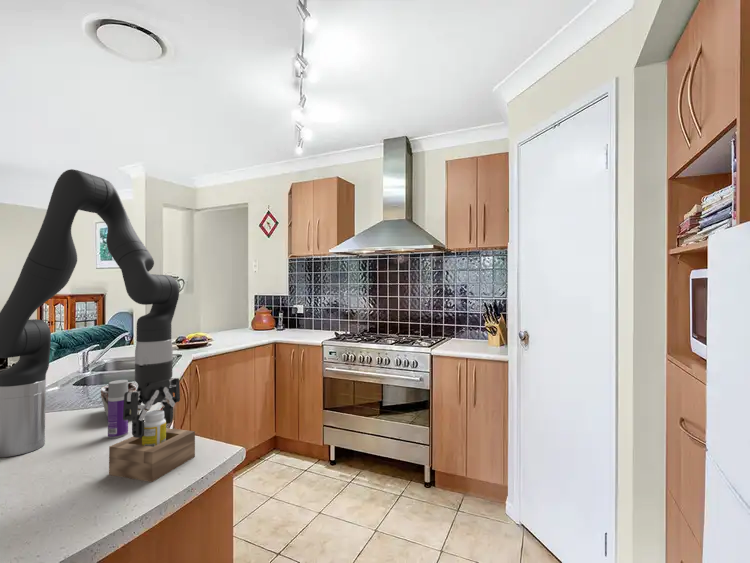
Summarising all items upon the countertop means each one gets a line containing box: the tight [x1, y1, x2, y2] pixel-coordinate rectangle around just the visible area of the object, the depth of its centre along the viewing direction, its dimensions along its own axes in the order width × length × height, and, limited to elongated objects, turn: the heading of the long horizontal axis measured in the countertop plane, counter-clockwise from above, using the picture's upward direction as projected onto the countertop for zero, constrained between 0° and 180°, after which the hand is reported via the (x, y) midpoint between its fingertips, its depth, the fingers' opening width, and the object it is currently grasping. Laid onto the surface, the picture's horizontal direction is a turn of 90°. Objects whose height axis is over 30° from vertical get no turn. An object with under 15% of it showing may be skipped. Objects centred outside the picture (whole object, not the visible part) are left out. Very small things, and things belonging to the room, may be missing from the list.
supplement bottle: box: [142, 409, 167, 447], centre depth 84 cm, size 5×5×8 cm
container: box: [107, 379, 129, 440], centre depth 102 cm, size 5×5×15 cm
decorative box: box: [100, 381, 141, 418], centre depth 118 cm, size 13×20×10 cm, turn 37°
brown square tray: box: [108, 427, 196, 483], centre depth 84 cm, size 12×12×6 cm
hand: (153, 429), depth 84 cm, fingers open, 8 cm apart
